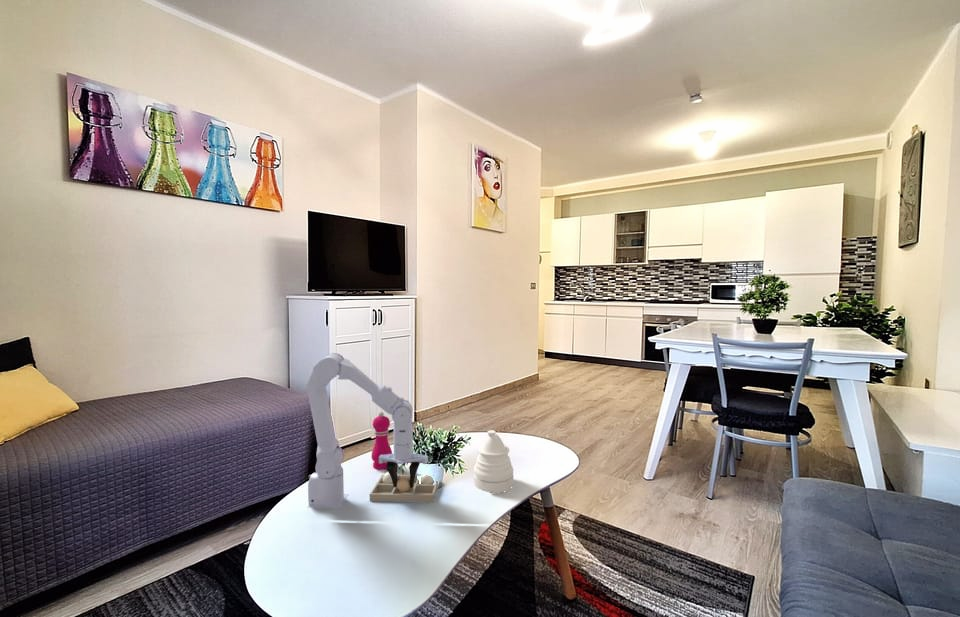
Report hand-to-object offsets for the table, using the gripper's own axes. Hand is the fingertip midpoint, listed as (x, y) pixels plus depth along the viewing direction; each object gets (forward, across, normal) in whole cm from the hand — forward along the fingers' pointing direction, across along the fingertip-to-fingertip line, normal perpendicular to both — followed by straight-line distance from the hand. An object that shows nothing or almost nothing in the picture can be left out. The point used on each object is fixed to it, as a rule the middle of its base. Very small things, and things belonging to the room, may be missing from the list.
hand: (403, 486), depth 126 cm
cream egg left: (+3, -6, +6) cm, 9 cm away
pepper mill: (+4, -13, +21) cm, 25 cm away
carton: (+4, 0, +3) cm, 5 cm away
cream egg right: (+3, +6, +6) cm, 9 cm away
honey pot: (+4, +27, +10) cm, 29 cm away
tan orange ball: (+1, 0, 0) cm, 1 cm away
